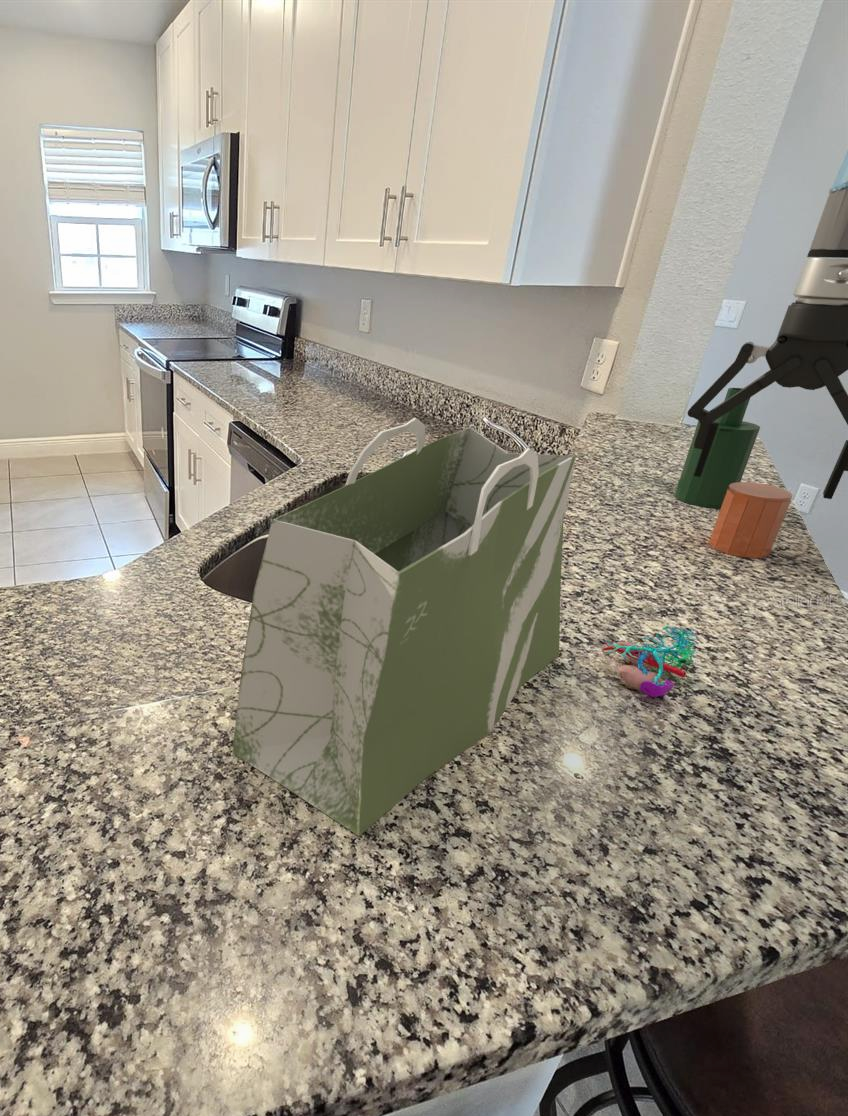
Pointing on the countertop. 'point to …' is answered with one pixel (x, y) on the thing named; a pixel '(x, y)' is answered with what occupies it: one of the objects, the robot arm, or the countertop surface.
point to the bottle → (719, 459)
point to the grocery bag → (400, 619)
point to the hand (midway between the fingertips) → (759, 484)
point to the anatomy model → (653, 662)
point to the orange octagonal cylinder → (750, 519)
